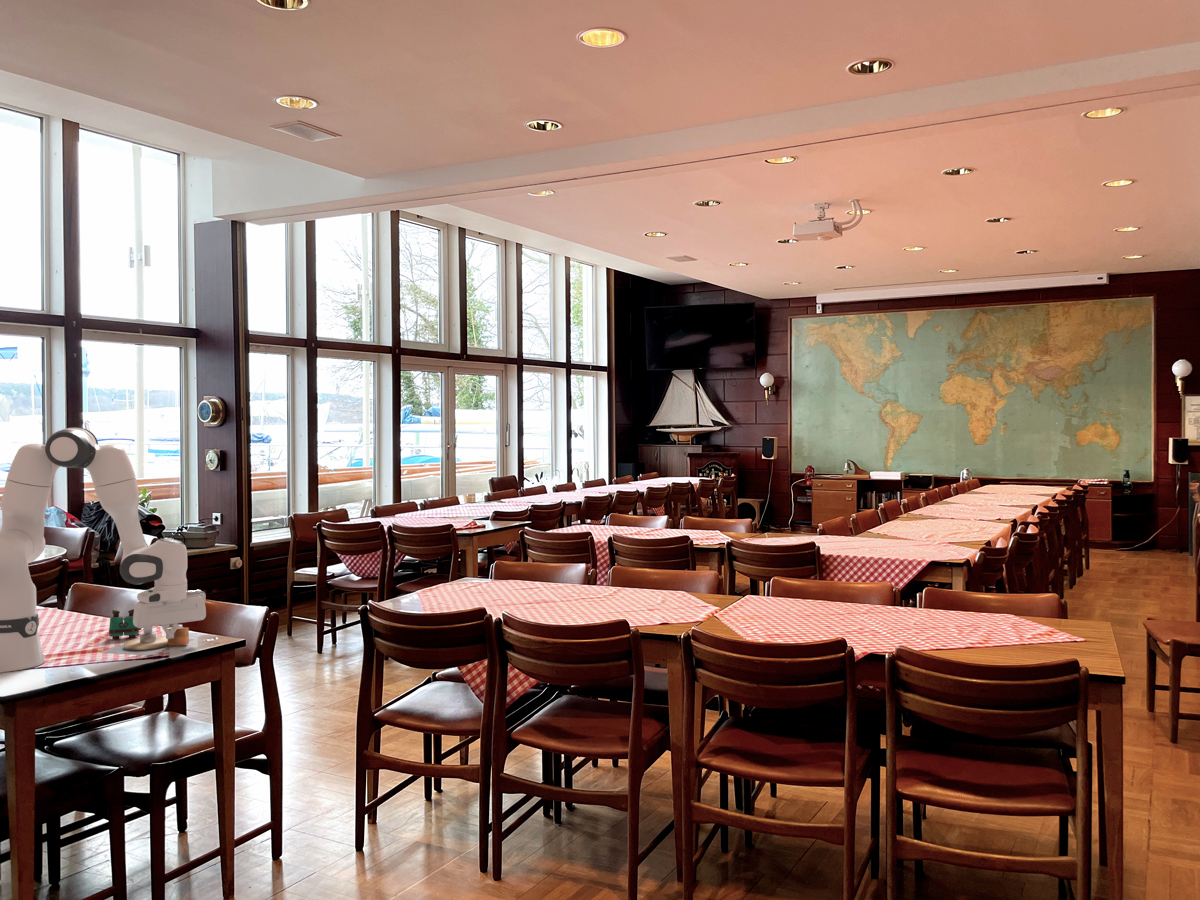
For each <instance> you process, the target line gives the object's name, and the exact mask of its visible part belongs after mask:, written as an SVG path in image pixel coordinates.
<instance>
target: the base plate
mask: <svg viewBox="0 0 1200 900" xmlns="http://www.w3.org/2000/svg"><path fill="white" fill-rule="evenodd" d="M178 628H183V624H178ZM142 629H143V633H144V634H149V633H152V632H153V627H146V628H142ZM191 641H195V639H194V638H189V642H191ZM177 646H178V645H167V646H164V647H160V648H154V649H146V650H129V649H125V648H124V643H122V644H121V645H118V646H115V647H111V648H108V649H105V650H103V651H100V652H99V653H100V654H101V653H103V654H118V655H133V656H134V655H136V656H138V655H139V656H152V655H154V654H158V653H159V652H160V653H161V652H162V651H166V650H169V649H172V648H173V647H177Z"/></svg>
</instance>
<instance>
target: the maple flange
mask: <svg viewBox="0 0 1200 900" xmlns="http://www.w3.org/2000/svg"><path fill="white" fill-rule="evenodd" d="M171 629H172V627H170V628H168V630H169V632H170V630H171ZM189 630H190V628H189V627H182V628H177V630H176V631H175V633H174V639H166V636H163V635H160V636H159V635H158V636H157V632H155V631H152V633H149V634H144V632H141V633H139V634H140V635H139V637H137V638H132V639H131V640H127V641H124V643H123V644H124V648H125V649H129V650H146V649H154V648H160V647H164V646H167V645H177V646H187V645H189V644H190V641H189V639H190V638H189V636H190V631H189Z"/></svg>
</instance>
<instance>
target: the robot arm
mask: <svg viewBox="0 0 1200 900" xmlns="http://www.w3.org/2000/svg"><path fill="white" fill-rule="evenodd" d="M59 468H68V469H85V470H87V471H88V473H89V474H90V477H91V481H92V485H93V487H94V488H93V489H94V491H95V495H96V497H97V499H98V501H99V503H100V506H101V507H102V509H103V510H104V511H105V512H106V513H107V514H108V515H109V516H110V517H111V518H112V520H113V522H114V524H115V526H116V529H117V532H118V535H119V539H120V544H121V547H122V555H121V560H120V565H119V575H120V576H121V578H122V579H123V580H124V582H126V583H128V584H132V585H142V584H147V583H151V582H154V587H151V588H149V589H147V590H144V591H141V592H139V593H137V595H136V600H137V601H138V602H137V603H136V604H135V606H134V608H133V609H134V614H133V624H134V626H135V627H137V628H142V629H143V628H146V627H152V628H153V627H159V626H161V628H162V629H163V631H164V633H165V637H166V639H174V633H175V631H176V630H177V628H178V625H179V624H182V623H183V624H184V623H189V622H198V621H203V620H205V619H206V617H207V609H206V603H205V602H206V598H207V595H206V592H205V591H202V590H201V589H196V590H188V579H187V570H188V551H187V546H186V545H185V544H184V542H182V541H181V540H177V539H173V538H161V539H160V538H159V539H158V540H157V541H155V542H154V543H152V544H150V545H148V543H147V542H146V540H145V536H144V533H143V529H142V526H141V523H140V519H139V503H140V502H139V501H140V496H139V495H140V493H139V485H138V481H137V478H136V474H135V471H134V468H133V466H132V462H131V461H130V458H129V455H127V453H126V450H125V449H124V448H123V447H121V446H120V445H115V444H104V445H99V442H98V439H97V437H96V435H95V434H94V433H93V432H91V431H90V430H88V429H86V428H84V427H67V428H63V429H61V430H57V431H55V432H54V433H52V434H51V435H49V437H48V439H47V440H46V443H45V444H39V443H28V444H27V443H26V444H25V445H22V446H20V448H19V449H18V450H17V452H16V454H15V456H14V457H13V460H12V462H11V464H10V467H9V470H8V473H7V476H6V481H5V484H4V488H3V492H2V495H1V499H0V500H1V501H0V510H1V517H2V518H1V519H2V520H1V521H2V522H1V529H0V673H4V672H13V671H21V670H26V669H30V668H34V667H37V666H40V665H42V664H44V663H45V659H44V658H45V655H44V653H43V652H42V645H41V638H40V633H39V630H38V629H39V626H40V624H39V622H40V617H39V613H37V587H36V585H35V583H33V580H32V578H31V577H32V576H31V573H30V570H29V564H31V563H33V562H34V561H36V560H37V559H38V558H39V557H40V556H41V555H42V554H43V552H44V551H45V548H46V538H45V536H44V535H45V519H46V518H45V517H46V511H47V506H48V503H49V498H50V495H51V490H52V485H53V482H54V478H55V475H56V472H57V471H58V470H59ZM169 628H172V629H171V630H170V632H169V630H168V629H169Z"/></svg>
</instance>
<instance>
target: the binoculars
mask: <svg viewBox="0 0 1200 900" xmlns="http://www.w3.org/2000/svg"><path fill="white" fill-rule="evenodd" d="M120 612H121V611H120V610H114V609H112V614H113V615H112V617H110V618H109V630H108V634H109V635H108V636H109V637H112V641H116V640H120V637H123V636H125V637H126V636H128V639H131V640H133V639H137V638H136V637H138V636H140V634H141V633H140V631H141V630H142V629H143V628H137V627H135V626H134V624H133V614H134V608H133V609H129V610H128V611H127V613H128V615H127V616H124V617H123V616H120V614H121V613H120Z"/></svg>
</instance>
